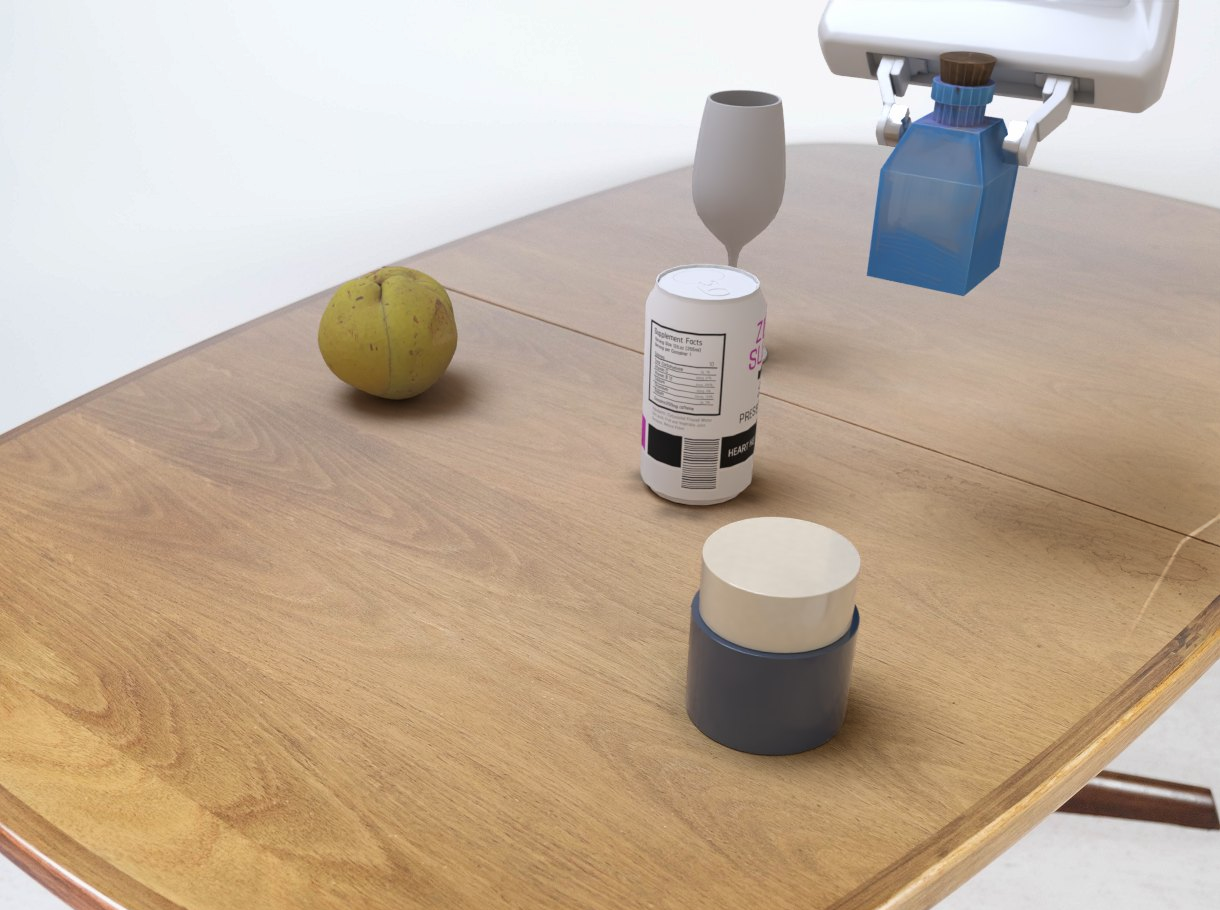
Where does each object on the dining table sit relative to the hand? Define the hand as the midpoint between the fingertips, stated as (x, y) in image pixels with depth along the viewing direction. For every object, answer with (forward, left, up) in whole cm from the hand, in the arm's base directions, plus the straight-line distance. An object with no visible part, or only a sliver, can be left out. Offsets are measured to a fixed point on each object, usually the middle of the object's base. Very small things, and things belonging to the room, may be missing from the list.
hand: (950, 150), depth 77 cm
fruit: (+41, -13, -26) cm, 51 cm away
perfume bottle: (0, -1, -7) cm, 7 cm away
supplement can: (+14, -4, -26) cm, 30 cm away
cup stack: (+5, +22, -26) cm, 34 cm away
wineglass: (+16, -29, -26) cm, 42 cm away
